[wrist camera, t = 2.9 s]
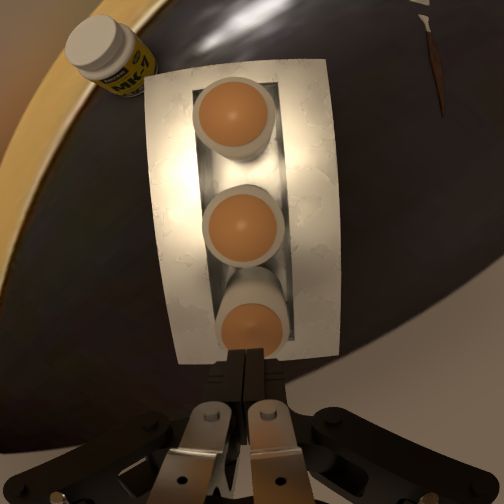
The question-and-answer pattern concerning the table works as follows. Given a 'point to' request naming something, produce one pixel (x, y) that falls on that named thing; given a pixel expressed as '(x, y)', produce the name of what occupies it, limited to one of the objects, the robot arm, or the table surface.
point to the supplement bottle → (110, 55)
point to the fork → (434, 59)
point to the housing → (255, 173)
